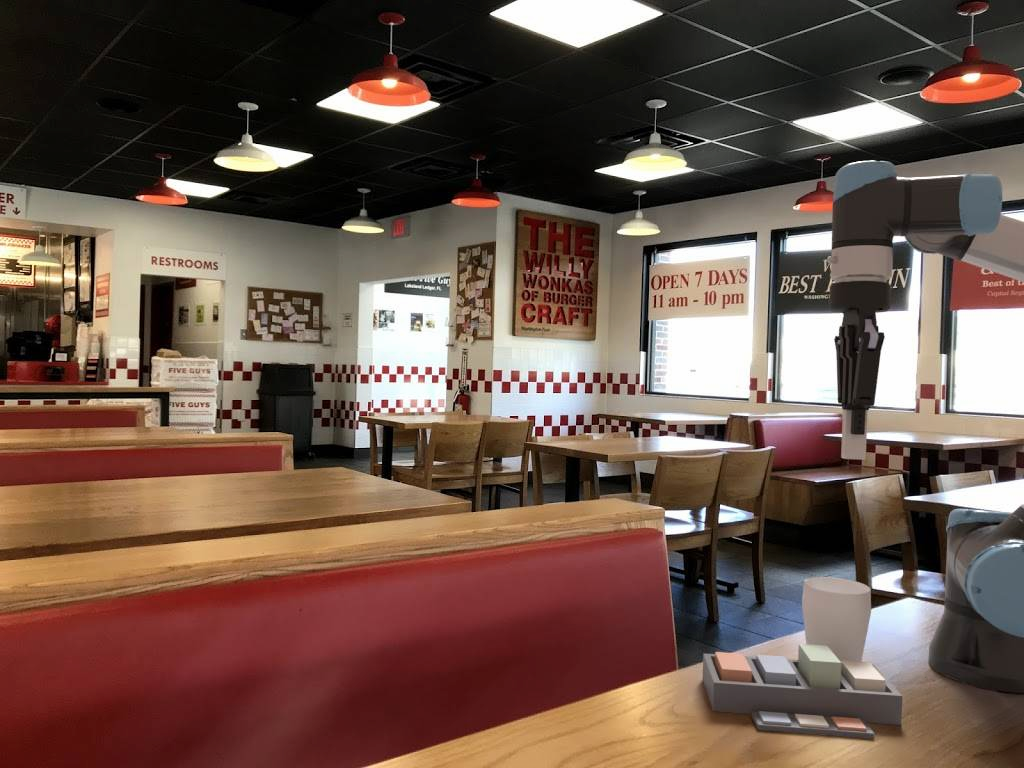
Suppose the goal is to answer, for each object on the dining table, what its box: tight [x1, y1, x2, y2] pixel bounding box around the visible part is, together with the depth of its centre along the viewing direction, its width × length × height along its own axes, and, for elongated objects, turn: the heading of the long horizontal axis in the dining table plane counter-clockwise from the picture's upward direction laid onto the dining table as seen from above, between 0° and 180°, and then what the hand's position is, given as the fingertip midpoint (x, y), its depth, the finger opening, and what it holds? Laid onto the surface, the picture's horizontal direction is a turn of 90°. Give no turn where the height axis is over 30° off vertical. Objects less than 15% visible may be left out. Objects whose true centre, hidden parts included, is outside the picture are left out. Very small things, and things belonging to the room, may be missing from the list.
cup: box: [801, 576, 872, 662], centre depth 112 cm, size 9×9×12 cm
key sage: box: [797, 643, 841, 689], centre depth 101 cm, size 4×6×4 cm, turn 174°
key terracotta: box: [714, 651, 752, 683], centre depth 102 cm, size 4×6×4 cm, turn 174°
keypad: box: [702, 653, 903, 726], centre depth 101 cm, size 22×10×4 cm, turn 84°
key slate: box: [755, 654, 796, 686], centre depth 102 cm, size 4×6×4 cm, turn 174°
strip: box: [751, 711, 875, 740], centre depth 94 cm, size 13×4×1 cm, turn 84°
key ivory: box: [840, 660, 886, 692], centre depth 100 cm, size 4×6×4 cm, turn 174°
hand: (853, 458), depth 107 cm, fingers closed
